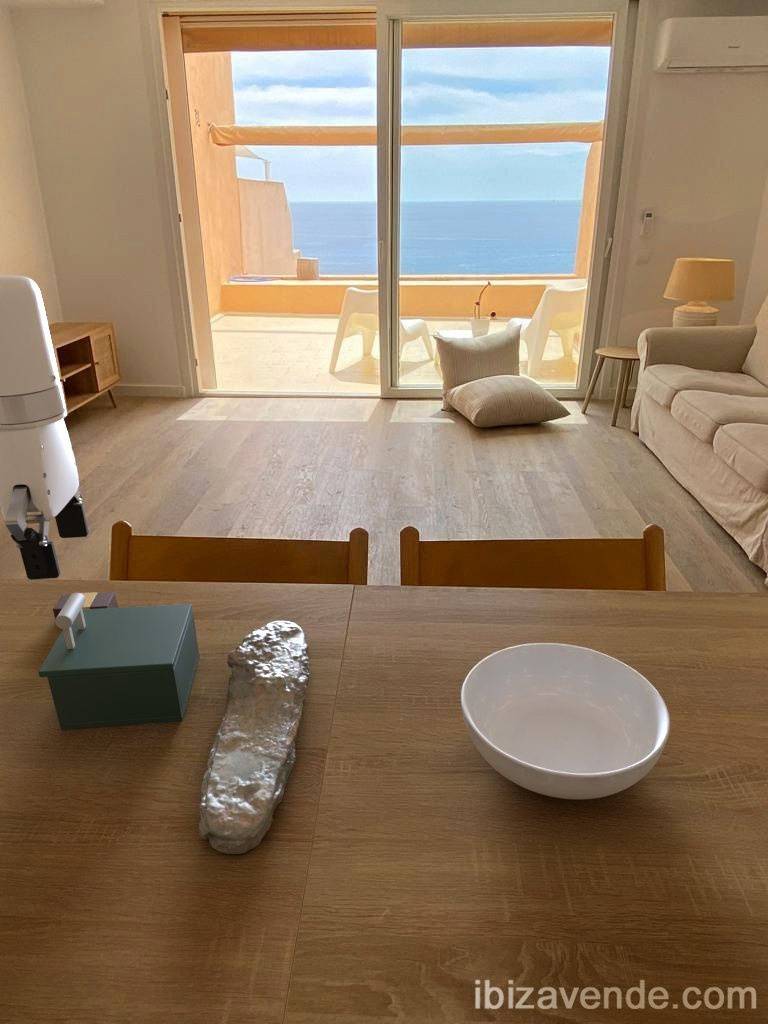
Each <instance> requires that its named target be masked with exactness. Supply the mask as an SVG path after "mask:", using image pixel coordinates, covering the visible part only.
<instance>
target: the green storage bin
mask: <svg viewBox="0 0 768 1024" xmlns="http://www.w3.org/2000/svg"><path fill="white" fill-rule="evenodd" d="M199 660H200V650H199V643H198V637H197V631H196V624H195V617H194V610H193V609H192V611H191V615H190V618H189V621H188V624H187V627H186V631H185V634H184V637H183V640H182V643H181V647H180V650H179V653H178V656H177V659H176V662H175V666H174V669H168V670H152V671H136V672H119V673H103V674H87V675H71V676H54V677H47V682H48V685H49V691H50V693H51V697H52V701H53V705H54V708H55V714H56V716H57V721H58V723H59V724H58V725H59V728H60V730H78V729H79V730H80V729H92V728H105V727H107V728H108V727H121V726H135V725H136V726H137V725H151V724H153V725H154V724H166V723H167V724H168V723H181V722H183V720H184V717H185V713H186V710H187V705H188V701H189V697H190V693H191V690H192V687H193V683H194V679H195V676H196V671H197V668H198V663H199Z"/></svg>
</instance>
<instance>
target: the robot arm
mask: <svg viewBox="0 0 768 1024" xmlns="http://www.w3.org/2000/svg"><path fill="white" fill-rule="evenodd" d="M41 293H42V292H41V290H40V288H39V286H38V284H37V283H36V282H35V281H34V280H33V279H32V278H30V277H28V276H24V275H17V274H16V275H15V274H0V510H1V514H2V515H1V516H2V517H3V520H4V525H5V527H6V528H7V530H8V531H9V532H10V537H11V539H12V541H14V542H15V546H16V548H17V549H19V553H20V555H21V559H22V563H23V567H24V571H25V574H26V578H27V579H28V580H30V581H32V580H50V579H51V580H52V579H57V578H59V577H60V575H61V569H60V565H59V560H58V556H57V553H56V550H55V549H56V548H55V545H54V544H55V543H54V542H53V541H49V539H50V522H51V521H52V520H53V519H55V523H56V528H57V533H58V536H59V538H61V539H72V538H86V537H88V536H89V533H90V531H89V527H88V523H87V518H86V517H87V516H86V513H85V509H84V504H83V503H82V502H83V495H82V492H81V491H80V490H79V487H80V484H81V483H80V478H79V473H78V467H77V460H76V457H75V455H74V451H73V447H72V443H71V439H70V436H69V432H68V430H67V426H66V423H65V420H64V419H65V418H66V417H67V416H68V412H67V407H66V403H65V398H64V393H63V389H62V383H61V381H60V375H59V371H58V365H57V361H56V357H55V353H54V348H53V343H52V338H51V334H50V329H49V324H48V319H47V316H46V310H45V306H44V301H43V298H42V294H41ZM27 513H39V514H27ZM30 524H33V525H34V524H38V531H36V530H35V529H34V528H32V527H29V526H28V525H30Z"/></svg>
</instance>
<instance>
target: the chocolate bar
mask: <svg viewBox="0 0 768 1024" xmlns="http://www.w3.org/2000/svg"><path fill="white" fill-rule="evenodd" d="M79 593H80V594H82V595H83V596H84V597H85V603H84V605H83V607H82V610H84V609H102V608H119V606H118V601H117V596H116V592H115V591H104V592H103V591H102V592H98V591H94V592H93V591H92V592H79ZM71 594H72V593H63V594H61V596H60V597H59V599H58V600H57V602H56V603H55V604H54V606H53V608H52V612H53V617H54V620H55V619H56V618H57V616H58V614H59V613H60V611H61V610H62V608H63V607H64V605H65V603H66V602H67V600H68V599H69V597H70V596H71Z"/></svg>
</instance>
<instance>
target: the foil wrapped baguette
mask: <svg viewBox="0 0 768 1024" xmlns="http://www.w3.org/2000/svg"><path fill="white" fill-rule="evenodd" d="M306 634H307V633H305V632H304V631H303V629H302V628H301V627H300V626H299V625H298V624H297V623H295V622H292V621H288V620H287V621H286V620H275V621H271V622H269V623H267V624H265V625H263V626H262V627H260V628H259V629H252V631H251V632H250V633H249V634H247V635H245V636H244V637H243V639H242V643H241V645H237V646H236V648H235V650H231V651H229V653H228V656H227V660H226V664H227V666H228V667H229V668H231V674H230V675H229V678H228V683H227V684H228V689H227V694H226V695H227V696H226V698H227V699H226V700H227V701H226V702H227V703H226V711H225V714H224V717H223V718H221V721H220V726H219V727H218V728H217V729H218V730H217V731H216V735H215V739H214V740H213V744H212V746H211V749H210V751H209V753H208V760H207V762H206V771H205V773H204V774H203V777H202V782H201V783H200V791H199V792H200V794H201V798H200V804H199V817H200V822H199V824H198V836H199V837H200V839H207V838H208V843H209V845H210V846H211V848H212V849H214V850H216V851H217V852H219V853H222V854H226V855H240V854H245V853H247V852H248V851H250V850H252V849H254V848H256V847H258V846H259V845H260V844H261V842H262V841H263V838H264V837H265V835H266V834H267V833H268V831H269V830H270V829H271V826H272V824H273V822H274V819H273V816H274V812H275V811H276V808H277V806H278V805H279V804H280V803H281V802H282V800H283V798H284V795H285V788H286V785H287V784H288V778H289V775H290V774H291V772H292V770H293V768H294V766H295V764H296V761H297V760H296V759H297V758H296V756H297V753H296V748H297V746H296V740H297V735H298V733H299V731H300V729H301V725H302V714H303V710H304V708H305V707H304V704H303V703H304V702H305V701H306V697H305V696H306V691H307V690H308V686H309V683H310V679H311V674H310V672H309V671H310V668H311V663H310V658H309V657H308V654H309V645H308V643H306V636H307V635H306Z"/></svg>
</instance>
